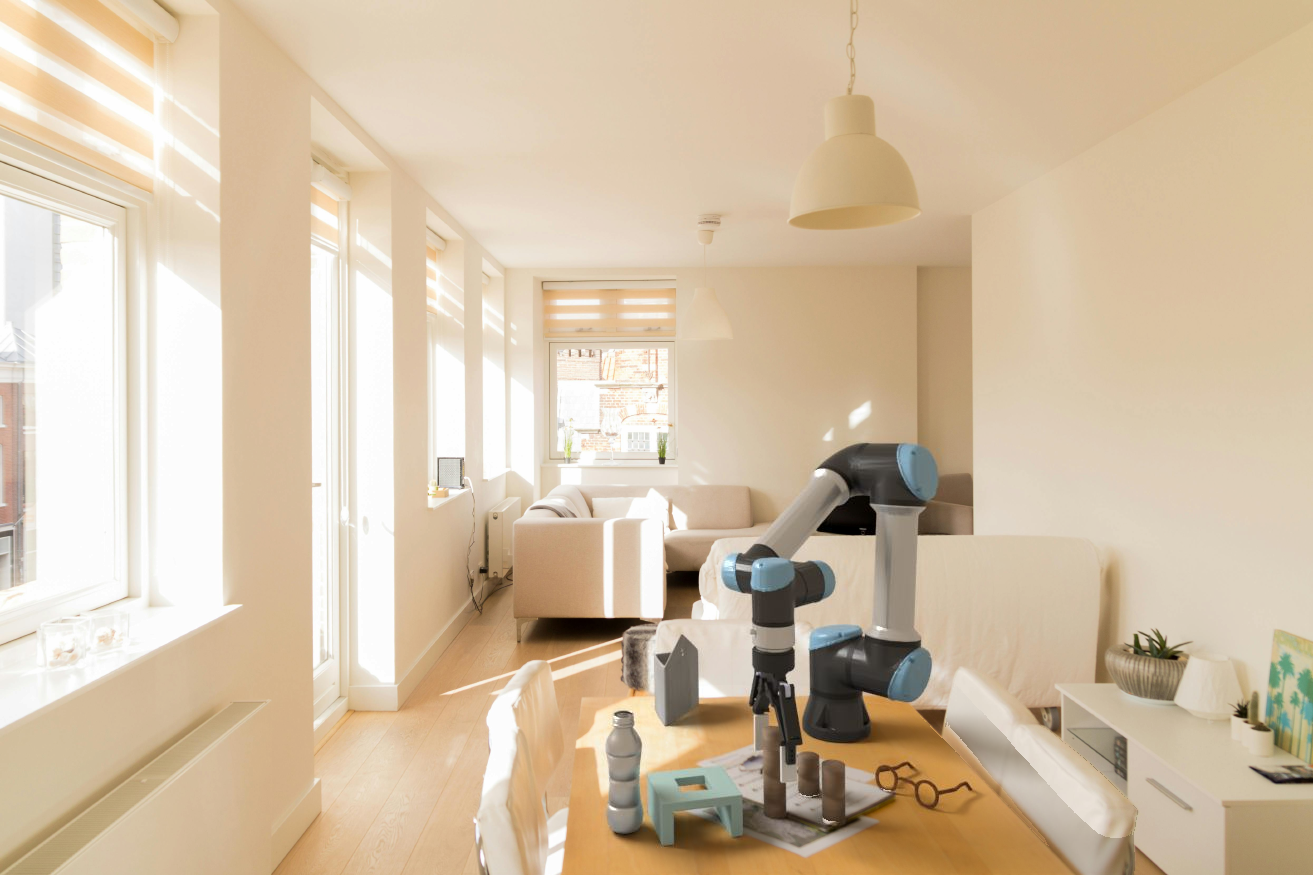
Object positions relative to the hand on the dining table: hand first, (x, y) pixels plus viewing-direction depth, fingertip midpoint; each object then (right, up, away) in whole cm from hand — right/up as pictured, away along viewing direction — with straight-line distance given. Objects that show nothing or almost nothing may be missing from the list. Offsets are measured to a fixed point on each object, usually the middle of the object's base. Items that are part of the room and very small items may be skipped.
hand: (774, 764), depth 145 cm
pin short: (+8, -8, +8) cm, 14 cm away
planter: (-18, -8, +51) cm, 54 cm away
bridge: (-15, -9, -3) cm, 17 cm away
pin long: (0, -9, 0) cm, 9 cm away
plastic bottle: (-26, -9, -4) cm, 28 cm away
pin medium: (+10, -9, -3) cm, 14 cm away
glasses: (+30, -9, +9) cm, 32 cm away
